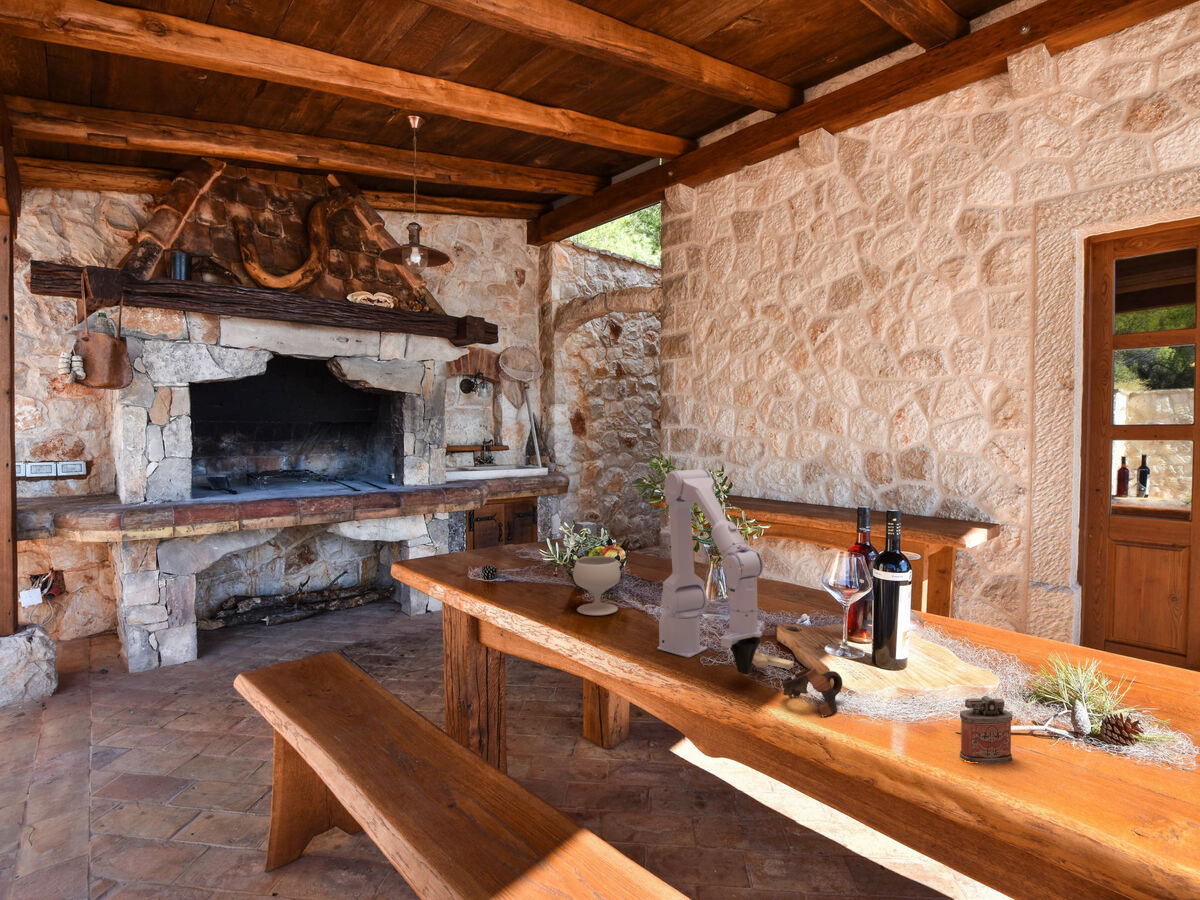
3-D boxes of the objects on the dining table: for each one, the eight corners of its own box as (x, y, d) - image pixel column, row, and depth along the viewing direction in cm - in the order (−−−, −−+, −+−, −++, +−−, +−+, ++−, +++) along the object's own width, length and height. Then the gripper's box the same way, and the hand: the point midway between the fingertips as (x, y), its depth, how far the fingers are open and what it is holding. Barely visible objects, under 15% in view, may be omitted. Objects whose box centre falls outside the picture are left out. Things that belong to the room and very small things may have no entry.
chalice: (573, 618, 184) (572, 566, 183) (573, 604, 198) (572, 555, 197) (622, 617, 185) (621, 564, 184) (619, 603, 199) (618, 554, 198)
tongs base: (733, 657, 152) (733, 636, 151) (740, 653, 154) (740, 633, 154) (787, 671, 142) (787, 649, 142) (794, 667, 145) (794, 646, 145)
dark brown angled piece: (814, 726, 118) (792, 682, 121) (788, 727, 127) (768, 686, 129) (862, 697, 123) (840, 655, 125) (834, 700, 131) (814, 661, 134)
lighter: (1003, 752, 107) (1003, 692, 106) (1017, 763, 103) (1017, 701, 103) (955, 754, 106) (955, 694, 106) (967, 765, 103) (967, 703, 103)
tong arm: (734, 647, 152) (734, 641, 152) (749, 646, 152) (749, 640, 152) (754, 667, 140) (754, 661, 139) (770, 666, 140) (770, 660, 140)
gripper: (742, 620, 128) (742, 688, 128) (777, 604, 138) (777, 666, 139) (711, 613, 133) (712, 679, 133) (747, 598, 143) (748, 659, 144)
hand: (743, 672), depth 136 cm, fingers closed
